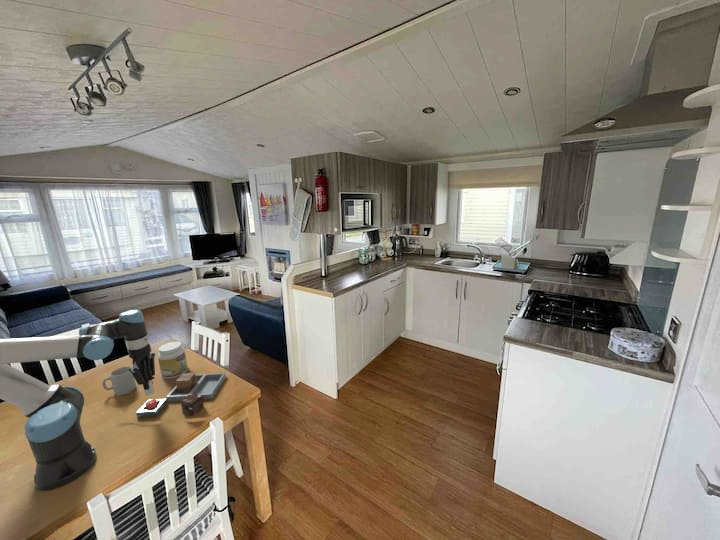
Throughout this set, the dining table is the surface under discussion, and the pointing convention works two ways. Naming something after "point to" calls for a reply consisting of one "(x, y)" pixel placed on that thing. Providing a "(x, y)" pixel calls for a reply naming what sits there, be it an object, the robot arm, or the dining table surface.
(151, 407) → the button
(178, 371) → the supplement tub
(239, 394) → the dining table surface
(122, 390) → the mug
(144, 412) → the white square piece
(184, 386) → the seated block
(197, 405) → the box
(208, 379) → the pallet
